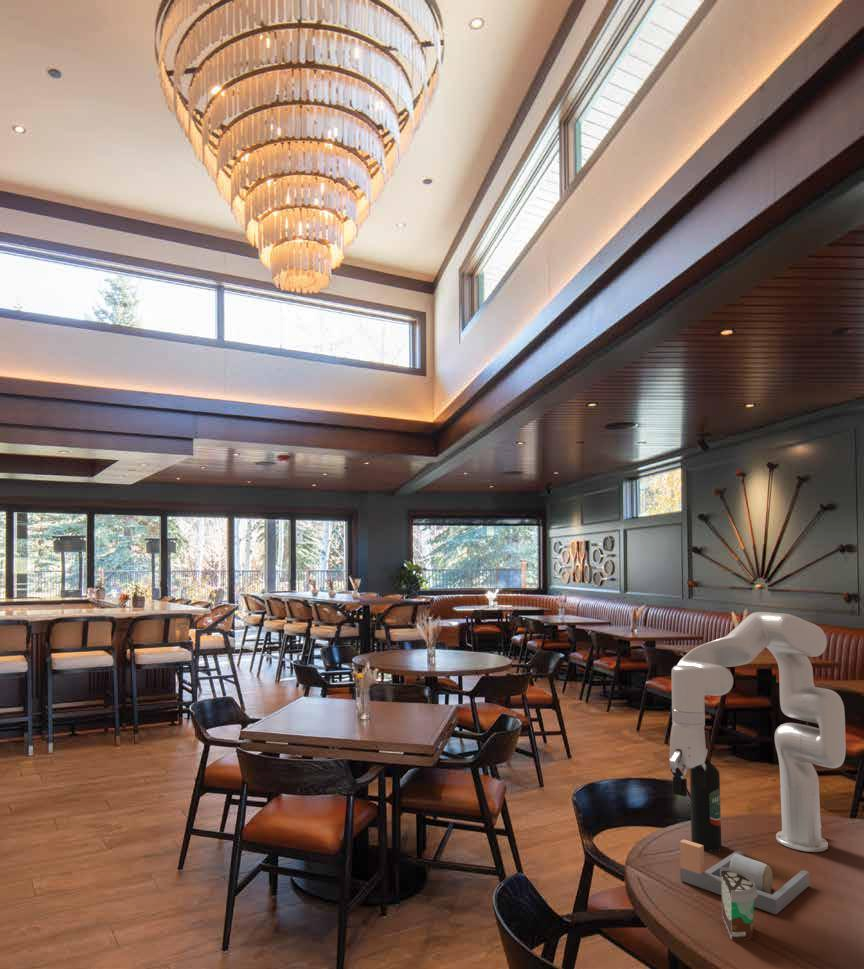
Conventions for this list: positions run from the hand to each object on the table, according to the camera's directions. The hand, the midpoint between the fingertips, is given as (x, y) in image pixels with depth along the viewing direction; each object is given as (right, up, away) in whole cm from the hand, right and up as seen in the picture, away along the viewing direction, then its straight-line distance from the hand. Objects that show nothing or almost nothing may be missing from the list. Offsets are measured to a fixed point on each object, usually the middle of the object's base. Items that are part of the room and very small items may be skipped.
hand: (689, 790), depth 171 cm
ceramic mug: (+13, -22, -5) cm, 25 cm away
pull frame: (+12, -21, -2) cm, 25 cm away
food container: (+3, -19, -23) cm, 30 cm away
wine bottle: (+12, -24, +21) cm, 34 cm away
